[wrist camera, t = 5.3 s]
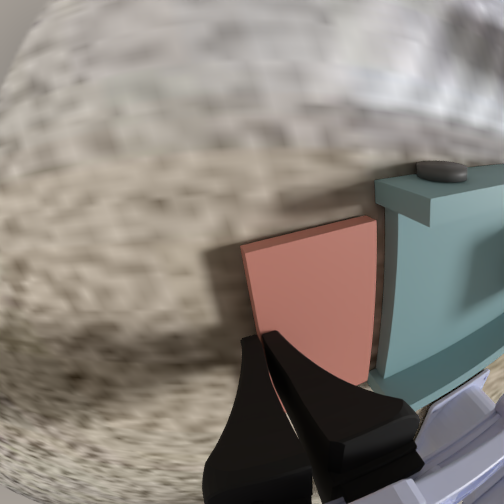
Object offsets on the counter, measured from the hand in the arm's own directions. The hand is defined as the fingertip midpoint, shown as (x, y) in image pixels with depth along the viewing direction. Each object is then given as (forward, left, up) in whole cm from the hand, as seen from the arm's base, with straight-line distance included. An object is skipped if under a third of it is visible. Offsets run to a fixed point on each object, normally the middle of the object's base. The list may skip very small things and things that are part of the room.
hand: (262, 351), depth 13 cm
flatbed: (0, -16, -1) cm, 16 cm away
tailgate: (0, -6, 0) cm, 6 cm away
